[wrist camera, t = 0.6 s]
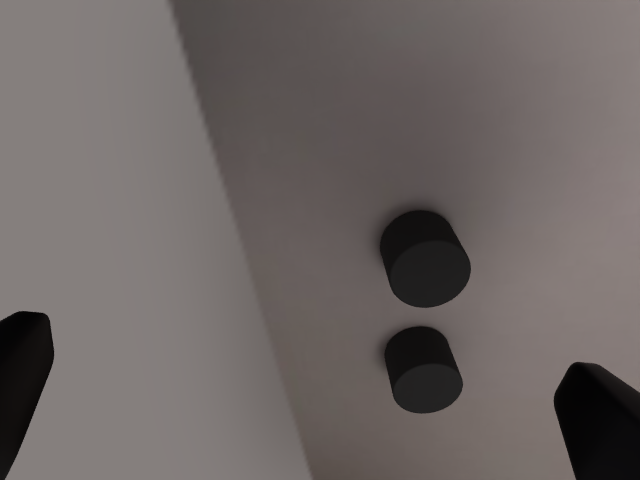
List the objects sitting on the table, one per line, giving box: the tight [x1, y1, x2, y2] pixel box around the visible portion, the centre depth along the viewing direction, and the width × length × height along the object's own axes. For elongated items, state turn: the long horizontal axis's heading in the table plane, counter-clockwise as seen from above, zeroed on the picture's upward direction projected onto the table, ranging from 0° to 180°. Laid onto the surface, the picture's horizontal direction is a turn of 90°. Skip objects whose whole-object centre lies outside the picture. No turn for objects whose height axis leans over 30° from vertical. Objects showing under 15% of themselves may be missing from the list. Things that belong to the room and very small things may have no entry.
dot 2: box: [385, 327, 463, 413], centre depth 24 cm, size 3×3×2 cm
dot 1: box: [380, 211, 471, 308], centre depth 20 cm, size 3×3×2 cm
